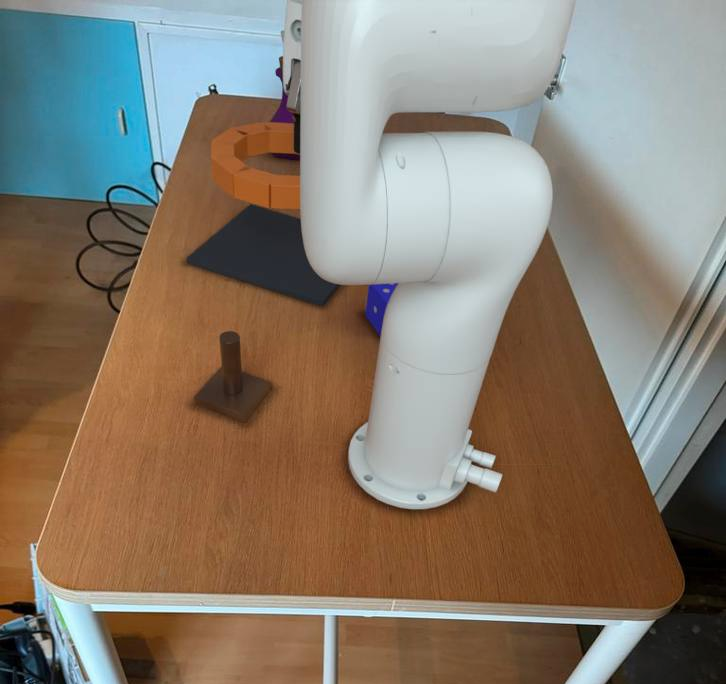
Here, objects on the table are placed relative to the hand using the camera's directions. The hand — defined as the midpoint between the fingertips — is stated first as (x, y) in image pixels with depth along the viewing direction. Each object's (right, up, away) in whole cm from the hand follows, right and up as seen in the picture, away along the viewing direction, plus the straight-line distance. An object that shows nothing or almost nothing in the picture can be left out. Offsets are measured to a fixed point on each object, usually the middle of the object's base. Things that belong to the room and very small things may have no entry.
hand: (310, 148), depth 86 cm
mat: (-4, -13, +3) cm, 14 cm away
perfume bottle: (-6, +12, +25) cm, 28 cm away
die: (+10, -25, -5) cm, 28 cm away
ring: (-3, -6, -4) cm, 8 cm away
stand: (-7, -36, -17) cm, 40 cm away
